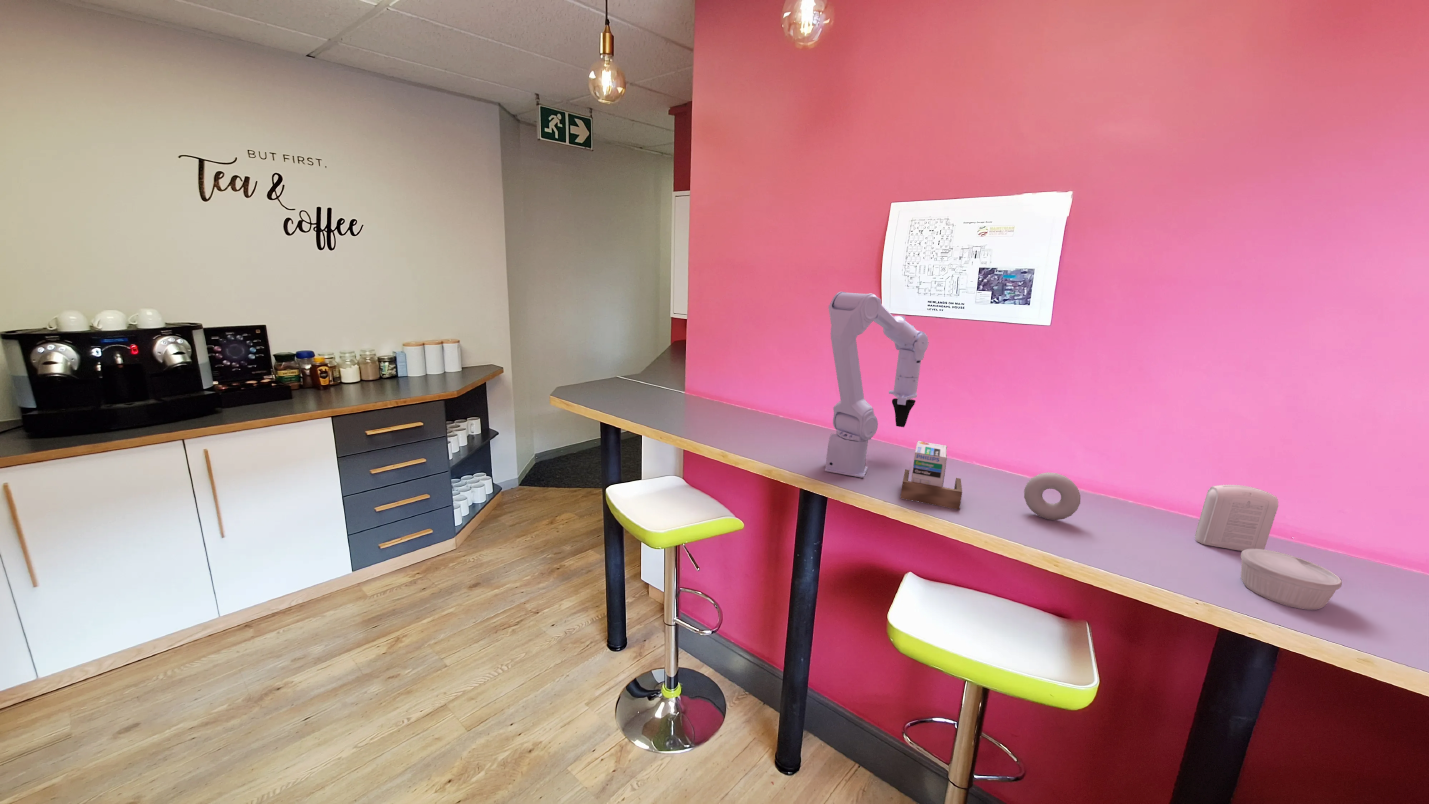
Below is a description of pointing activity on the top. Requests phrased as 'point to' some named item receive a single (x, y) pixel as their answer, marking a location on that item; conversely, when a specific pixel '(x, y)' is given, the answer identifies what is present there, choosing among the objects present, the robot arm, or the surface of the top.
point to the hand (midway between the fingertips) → (900, 426)
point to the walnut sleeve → (932, 493)
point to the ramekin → (1288, 579)
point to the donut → (1048, 510)
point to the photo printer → (1236, 517)
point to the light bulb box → (929, 464)
